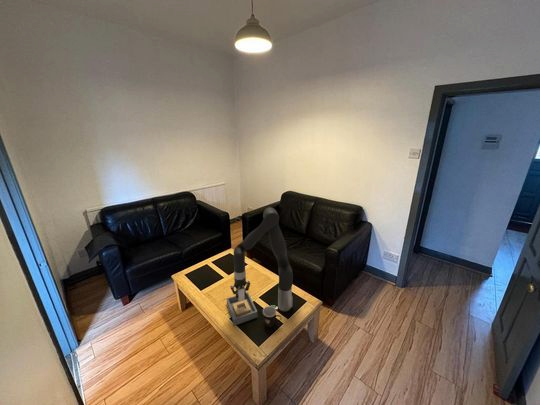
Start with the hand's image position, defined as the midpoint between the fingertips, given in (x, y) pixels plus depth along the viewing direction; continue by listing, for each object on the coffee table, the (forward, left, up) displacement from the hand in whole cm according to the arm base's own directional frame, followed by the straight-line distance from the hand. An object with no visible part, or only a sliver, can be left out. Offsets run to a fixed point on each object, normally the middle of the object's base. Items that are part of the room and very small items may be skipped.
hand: (240, 296), depth 149 cm
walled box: (0, 0, -12) cm, 12 cm away
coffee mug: (-14, +19, -12) cm, 27 cm away
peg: (0, 0, -2) cm, 2 cm away
